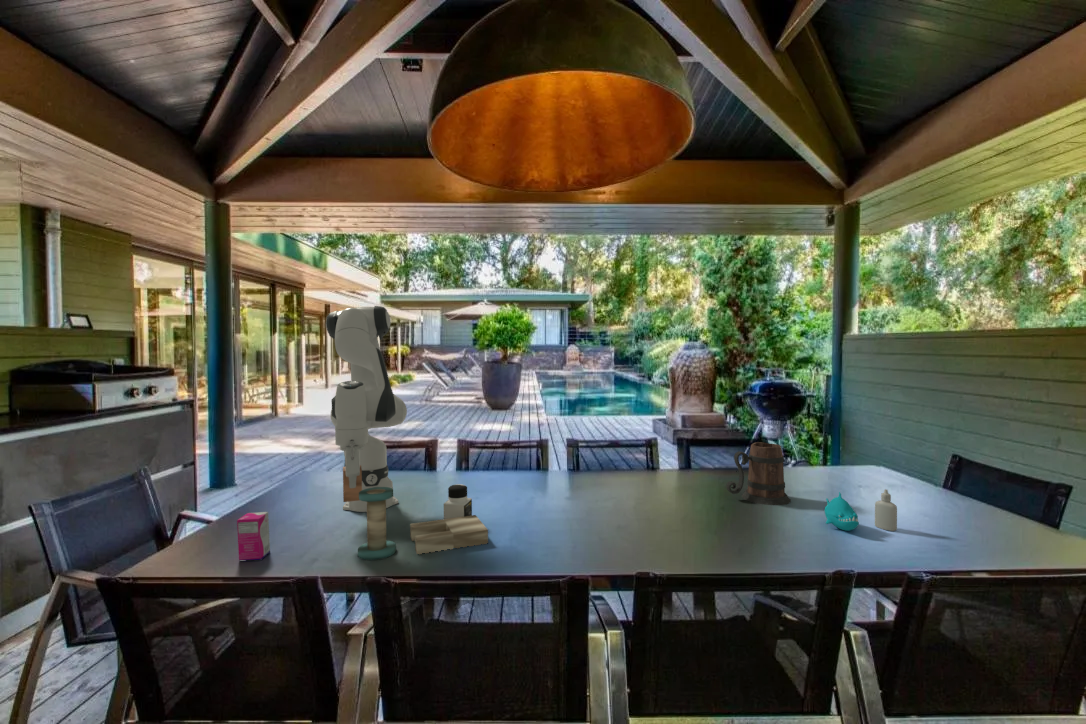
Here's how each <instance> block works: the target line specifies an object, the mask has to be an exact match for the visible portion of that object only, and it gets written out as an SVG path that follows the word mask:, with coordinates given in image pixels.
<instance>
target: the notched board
mask: <svg viewBox="0 0 1086 724" xmlns="http://www.w3.org/2000/svg"><path fill="white" fill-rule="evenodd" d="M409 528H410V529H409V530H410V531H409V533H410V536H409V537H410V540H411V542H414V543H415V545H414V546H415V547H414V548H415V549H414V550H415V552H416V555H417V554H419V555H423V554H422V553H425V554H430V553H429V552H431V553H436V552H435V551H438V552H442V551H441V550H444V551H448V550H447V549H450V550H454V549H453V548H457V549H461V548H460V547H463V548H468V547H467V546H469V547H474V545H475V546H481V544H482V545H488V544H489V529H488V528H487V527H486V526H485V524H484V523H483V522H482V521H481V520H480V518H479V517H478V516H477V514H472V516H464V517H457V518H450V519H444V518H443V519H436V520H430V521H428V520H427V521H422V522H414V523H410V524H409ZM487 543H488V544H487Z"/></svg>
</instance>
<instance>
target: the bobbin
mask: <svg viewBox="0 0 1086 724" xmlns="http://www.w3.org/2000/svg"><path fill="white" fill-rule="evenodd" d="M393 496H394V488H393V489H392V488H389V487H373V488H368V489H364V490H362V491H360V492H359V500H361V501H366V502H367V512H366V532H367V533H366V536H367V540H366V541H367V542H366V543H363V544H361V545H360V546H358V548H357V557H358V558H359V559H362V560H365V561H376V560H382V559H386V558H389V557H390V556H391V557H392V556H393V555H394V554H395V553H396V551H397V544H396V543H395V542H394V541H392V540H387V508H386V500H387V499H390V498H391V497H393Z"/></svg>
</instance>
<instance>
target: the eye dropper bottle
mask: <svg viewBox="0 0 1086 724" xmlns="http://www.w3.org/2000/svg"><path fill="white" fill-rule="evenodd" d="M880 496H881V497H880V500H877V501H875V502H874V526H875V527H876V528H878V529H881V530H883V531H884V530H885V531H889V532H894V531H897V530H898V506H897V504H895V503H893V502H892V501H891V500H892V495H891V494H890V493H889V491H888V489H886V488H885V489H884V491H883V492H882V493H881V495H880Z"/></svg>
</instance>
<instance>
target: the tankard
mask: <svg viewBox="0 0 1086 724" xmlns="http://www.w3.org/2000/svg"><path fill="white" fill-rule="evenodd" d="M740 456H741V460H742V461H741V464H740V459H739V457H740ZM733 460H734V464H735V466H736V468H737V470H738V474H739V477H738V483H737V484H736V483H735V482H733V481H727V483H726V490H727V491H728V492H729V493H731V494H733V495H737V494H739V493H740V492H741V491H742V489H743V487H744V481H745V474H744V469H743V467H742V466H745V465H747V464H748V476H747V478H746V479H747V480H746V481H747V482H746V485H747V489H745V491H744V492H743V493H742V494H741V498H742V499H743V500H745V501H747V502H751V503H754V504H759V505H764V506H765V505H766V506H784V505H789V504H791V503H792V500H791V499H790V498H789V496H788V494H787V493H786V492H785V489H786V482H785V477H784V476H785V473H784V472H785V471H784V468H785V467H784V462H785V458H784V455H783V450H782V445H780V444H777V443H768V442H759V441H757V442H756V441H755V442H753V443H751V444H750V449H749V453H748V454H747V453H746V452H744V451H740V450H739V451H736V452H735V453H734V454H733Z"/></svg>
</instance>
